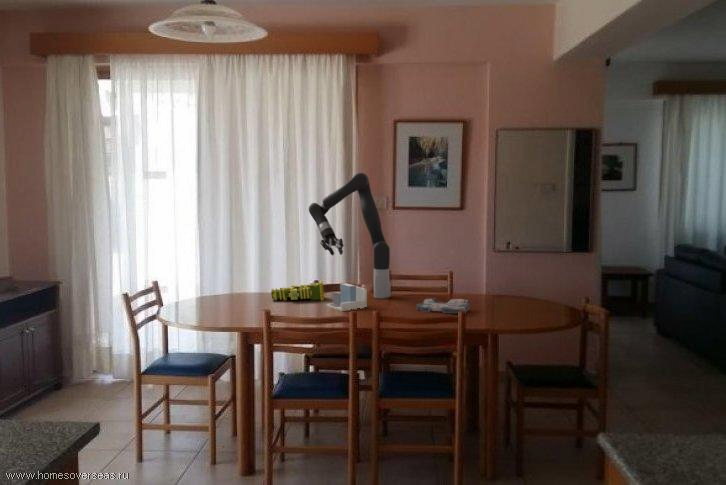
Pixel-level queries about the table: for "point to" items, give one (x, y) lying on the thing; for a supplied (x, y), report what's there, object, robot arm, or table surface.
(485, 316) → the table surface
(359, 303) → the white open holder
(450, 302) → the futuristic firearm
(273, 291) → the toy
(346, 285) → the light blue rectangular block
